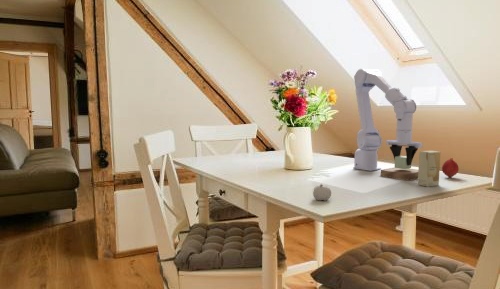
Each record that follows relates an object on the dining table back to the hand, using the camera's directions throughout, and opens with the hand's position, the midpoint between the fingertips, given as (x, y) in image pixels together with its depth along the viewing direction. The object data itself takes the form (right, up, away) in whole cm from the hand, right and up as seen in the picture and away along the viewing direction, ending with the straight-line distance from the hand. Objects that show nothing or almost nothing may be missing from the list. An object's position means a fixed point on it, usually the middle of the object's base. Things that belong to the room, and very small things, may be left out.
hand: (402, 164), depth 157 cm
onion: (+17, -5, -2) cm, 18 cm away
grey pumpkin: (-39, -9, -37) cm, 55 cm away
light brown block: (0, -5, +1) cm, 5 cm away
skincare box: (+3, -7, -16) cm, 18 cm away
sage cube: (0, -1, 0) cm, 1 cm away
